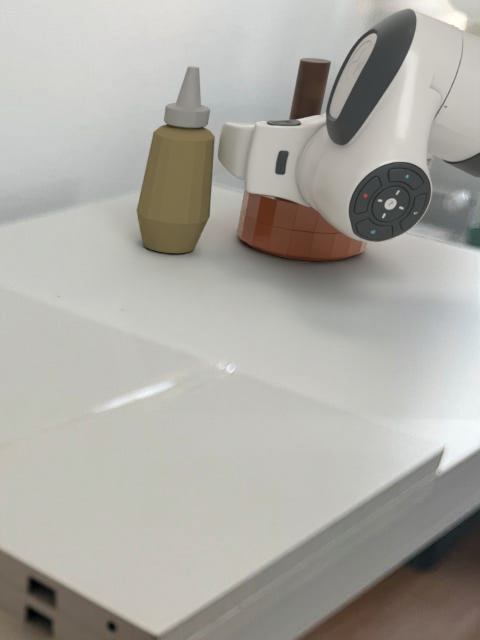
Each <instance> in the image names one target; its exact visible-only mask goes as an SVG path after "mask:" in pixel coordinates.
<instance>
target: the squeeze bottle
mask: <svg viewBox="0 0 480 640" xmlns="http://www.w3.org/2000/svg"><path fill="white" fill-rule="evenodd" d="M201 97H202V95H201V74H200V67H199V66H187V68H186V71H185V74H184V77H183V81H182V83H181V86H180V89H179V92H178V95H177V97H176V100H175V101H176V102H172V103H167V104H166V105H165V108H164V117H163V122H164V123H165V124H163V125H160V126H158V128H157V129H155V130H154V131H153V133H152V137H151V143H150V146H149V151H148V156H147V160H146V165H145V170H144V175H143V179H142V183H141V188H140V193H139V198H138V202H137V207H136V215H137V219H138V225H139V231H140V237H141V243H142V245H143V247H145V248H147V249H149V250H152V251H156V252H158V253H164V254H185V253H186V254H187V253H189V252H192V251H194V250H195V248H196V246H197V244H198V242H199V240H200V238H201V235H202V234H203V231H204V230H205V228H206V225H207V223H208V222H209V219H210V217H211V201H212V186H213V185H212V184H213V169H214V157H215V155H214V154H215V141H216V137H215V134H213V132H212V131H211V130H210V129H208V128H206V127H207V126H208V125H209V119H210V115H211V109H210V107H209V106H206V105H203V104H202V99H201Z"/></svg>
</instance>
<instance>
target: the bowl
mask: <svg viewBox="0 0 480 640" xmlns="http://www.w3.org/2000/svg"><path fill="white" fill-rule="evenodd" d="M240 207H241V208H240V214H239V217H238V218H239V219H238V225H237V229H236V230H237V231H236V235H237V236H238V237H239V239H240V240H241V241H243V242H245V243H246V244H247V245H248V246H250V247H251V248H253V249H254V250H256V251H259V252H262V253H264V254H267V255H272V256H274V257H279V258H284V259H290V260H297V261H306V262H307V261H308V262H333V261H334V262H335V261H340V260H345V259H349V258H350V257H353V256H356V255H360V254H361V253H363V252H364V251H366V249H367V245H368V242H362V241H358V240H355V239H353V238H350V237H348V236H346V235H345V234H343V233H341V232H340V231H338V230H337V229H336V228H334V227H333V226H332V225H331V224H329V223H328V222H327V221H326V220H325V219H324V218H323V217H322V216H321V214H320V213H319V212H317V211H316V210H315V209H313V208H312V207H306V206H304V205H301V204H298V203H296V202H293V201H288V200H283V199H279V198H276V197H270V196H263V195H259V194H252V193H249V192H247V191H246V190H245V189H244V190H243V197H242V202H241V206H240Z"/></svg>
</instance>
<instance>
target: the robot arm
mask: <svg viewBox="0 0 480 640" xmlns="http://www.w3.org/2000/svg"><path fill="white" fill-rule="evenodd" d="M327 100H328V101H327V104H326V109H325V113H321V114H320V115H315V116H310V117H306V118H302V119H296V120H294V119H292V120H289V119H283V120H267V121H265V120H260V121H257V122H248V121H247V122H246V121H245V122H242V121H225V122H224V123H223V124H222V127H221V129H220V134H219V139H218V147H217V159H218V162H219V163H220V164H221V166H223V168H224V169H225V170H226V171H227V172H228V173H230V175H232V176H233V177H235V178H236V179H239V180H242V181H243V183H244V184H243V188H244V190H246V191H247V192H249V193H252V194H259V195H263V196H270V197H276V198H281V199H287V200H290V201H293V202H296V203H298V204H301V205H304V206H306V207H312V208H313V209H315V210H316V211H317V212H319V213H320V214H321V216H322V217H323V218H324V219H325V220H326V221H327V222H328V223H329V224H331V225H332V226H333V227H334V228H336V229H337V230H338V231H340V232H341V233H343V234H345V235H346V236H348V237H350V238H353V239H355V240H358V241H362V242H367V243H383V242H387V241H390V240H393V239H396V238H398V237H400V236H403V235H404V234H406V233H407V232H409V231H410V230H412V229H413V228H414V227H415V226H417V224H418V223H419V222H420V221H421V220H422V218H423V217H424V216H425V214H426V213H427V211H428V208H429V207H430V204H431V201H432V197H433V182H432V177H431V174H430V170H429V167H430V165H431V164H432V162H433V160H432V159H433V158H432V157H434V158H437V159H440V160H442V161H443V162H444V163H445V164H448V165H450V166H452V167H454V168H456V169H458V170H460V171H462V172H464V173H466V174H468V175H470V176H472V177H474V178H480V36H478V35H476V34H473V33H470V32H468V31H465V30H462V29H460V28H459V27H457V26H455V25H454V24H450V23H449V22H445V21H442V20H440V19H438V18H436V17H432V16H429V15H427V14H424V13H422V12H419V11H416V10H413V9H412V8H405V9H401V10H399V11H395V12H394V13H392V14H390V15H388V16H386V17H384V18H383V19H382V20H380V21H379V22H378V23H376V24H375V25H373V26H372V27H371V28H369V29H368V30H367V31H366V32H365V33H364V34H362V35H361V36H360V37H359V38H358V39H357V40H356V41H355V43H354V44H353V45H352V47H351V49H350V50H349V51H348V53H347V55H346V56H345V58H344V60H343V62H342V64H341V65H340V68H339V70H338V72H337V75H336V77H335V80H334V82H333V85H332V87H331V90H330V94H329V96H328V99H327Z"/></svg>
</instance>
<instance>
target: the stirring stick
mask: <svg viewBox="0 0 480 640" xmlns="http://www.w3.org/2000/svg"><path fill="white" fill-rule="evenodd" d="M331 65H332V61H331V60H330V59H324V58H317V57H303V58H300V59H299V64H298V69H297V75H296V81H295V86H294V90H293V96H292V101H291V107H290V112H289V117H288V120H292V119H294V120H296V119H302V118H306V117H310V116H315V115H322V109H323V104H324V100H325V99H324V98H325V94H326V89H327V84H328V79H329V75H330V70H331ZM279 199H281V198H279ZM283 200H287V199H283ZM288 201H290V200H288Z"/></svg>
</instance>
